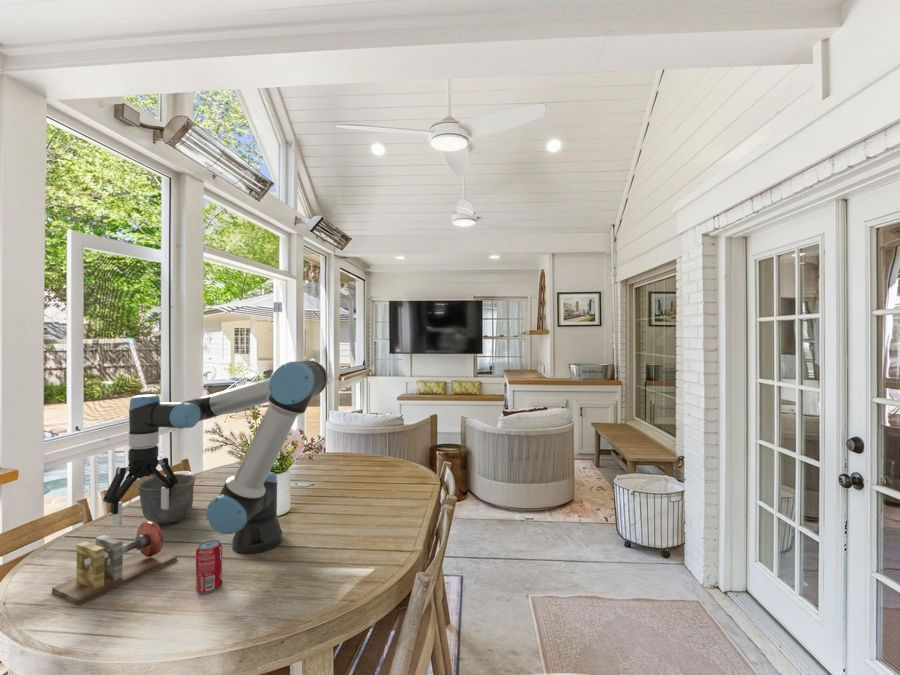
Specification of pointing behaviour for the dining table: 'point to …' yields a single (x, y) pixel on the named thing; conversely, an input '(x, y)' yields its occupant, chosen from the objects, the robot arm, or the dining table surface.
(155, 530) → the red knob rod
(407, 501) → the dining table surface
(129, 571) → the board
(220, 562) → the soda can
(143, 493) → the grey plant pot
